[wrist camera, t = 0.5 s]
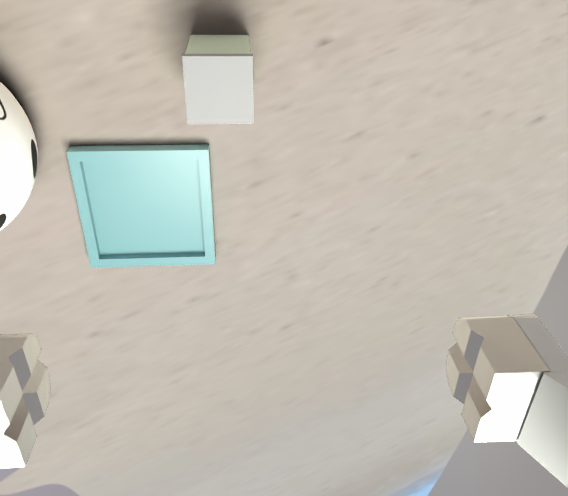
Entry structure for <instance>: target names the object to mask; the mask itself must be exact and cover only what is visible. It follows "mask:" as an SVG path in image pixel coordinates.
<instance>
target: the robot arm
mask: <svg viewBox="0 0 568 496" xmlns="http://www.w3.org/2000/svg"><path fill="white" fill-rule="evenodd" d="M453 335H454V337H455V339H456V341H457V343H456V344H455V345H454V346H452V347H451V348H450V349H449V350H448V355H447V360H446V375H447V380H448V384H449V387H450V390H451V392H452V394H453V396H454V397H455V398H456V399H458V400H459V401H460V402H462V403H463V404H464V406H463V410H462V414H461V415H462V417H463V419H464V421H465V423H466V426H467V428H468V430H469V432H470V434H471V436H472V439H473V441H474V442H498V441H518V442H517V443H518V444H519V445H520V446H521V447H522V448H523V449H524V450H525V451H527V452H528V453H529V454H530V455H531V456H532V457H533V458H534V459H536V460H537V461H538V462H539V463H540V464H541V465H542V466H544V467H545V468H546V469H547V470H549V472H550V473H552V474H553V475H554V476H555V477H556V478H557V479H558V480H560V481H561V482H562V483H563V484H564V485H565V486H567V488H568V356H567V355H566V353H565V352H564V351H563V349H562V348H561V347H560V345H559V344H558V343H557V341H556V340H555V339H554V337H553V336H552V335H551V333H550V332H549V331H548V329H547V328H546V327H545V325H544V324H543V323H542V321H541V320H540V319H539V317H537V316H536V315H534V314H520V315H508V316H490V317H467V318H458V320H457V321H456V323H455V326H454V330H453ZM41 350H42V349H41V346H40V343H39V340H38V337H37V336H36V335H34V334H0V469H4V468H16V467H26V464H27V461H28V459H29V456H30V453H31V451H32V448H33V445H34V443H35V440H36V437H37V434H36V431H35V428H34V424H36V423H37V422H38V421H39V420H40V419H42V418H43V417H44V416H45V413H46V410H47V407H48V404H49V398H50V390H51V386H50V376H49V372H48V369H47V367H46V366H45V365H44V364H43V363H41V362H40V361H39V360H38V357H39V355H40V353H41Z"/></svg>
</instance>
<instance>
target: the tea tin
mask: <svg viewBox="0 0 568 496" xmlns="http://www.w3.org/2000/svg"><path fill="white" fill-rule="evenodd" d="M182 62H183V75H184V87H185V100H186V112H187V124H253V55H252V54H251V50H250V41H249V35H191V36H190V39H189V42H188V45H187V48H186V51H185V54H183V55H182Z"/></svg>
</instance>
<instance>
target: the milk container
mask: <svg viewBox="0 0 568 496" xmlns="http://www.w3.org/2000/svg"><path fill="white" fill-rule="evenodd" d="M37 166H38V149H37V143H36V139H35V135H34V132H33V129H32V126H31V124H30V122H29V119H28V117H27V116H26V114H25V112H24V110H23V109H22V107H21V106H20V104H19V103H18V101H17V100H16V99H15V97H14V96H13V95H12V94H11V92H10V91H9V90H8V89H7V88H6V87H5V86H4V85H3V84H2V83H1V82H0V231H1V230H2V229H3V228H5V227H6V226H7V225H8V224H9V223H10V222H11V221H12V220H13V219H14V218H15V217H16V216H17V215H18V214H19V212H20V211H21V209H22V208H23V206H24V205H25V203H26V202H27V200H28V198H29V196H30V193H31V191H32V188H33V185H34V182H35V178H36V173H37Z"/></svg>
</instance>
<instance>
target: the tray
mask: <svg viewBox="0 0 568 496" xmlns="http://www.w3.org/2000/svg"><path fill="white" fill-rule="evenodd" d="M67 157H68V161H69V166H70V171H71V176H72V180H73V185H74V190H75V195H76V199H77V204H78V209H79V214H80V218H81V223H82V228H83V232H84V237H85V242H86V247H87V251H88V256H89V261H90V266H91V268H94V267H129V266H164V265H198V264H215V258H216V256H215V239H214V222H213V205H212V189H211V172H210V155H209V144H197V145H113V146H70V147H69V149H68V150H67Z"/></svg>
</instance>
